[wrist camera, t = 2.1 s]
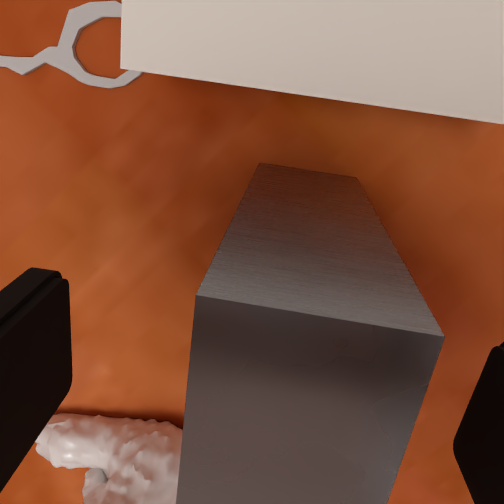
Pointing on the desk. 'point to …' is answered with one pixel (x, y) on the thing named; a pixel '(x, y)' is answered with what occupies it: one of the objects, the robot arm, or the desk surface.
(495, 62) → the post base
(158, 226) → the desk surface
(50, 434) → the seated beast figurine
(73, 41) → the scissors
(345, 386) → the brushed steel block
